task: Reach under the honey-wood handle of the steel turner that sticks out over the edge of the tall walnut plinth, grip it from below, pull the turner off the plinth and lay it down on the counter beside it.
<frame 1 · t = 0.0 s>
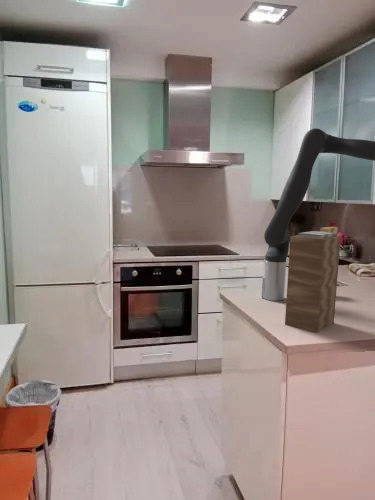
plinth: (309, 323, 145), on the countertop
turner: (323, 235, 145), point 32 cm above the countertop, touching plinth
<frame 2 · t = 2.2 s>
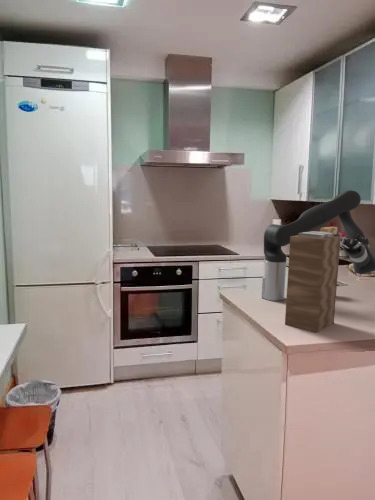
hand: (346, 234, 163), 31 cm above the countertop, tool pointing upward, fingers open, 8 cm apart
nothing on the countertop moved.
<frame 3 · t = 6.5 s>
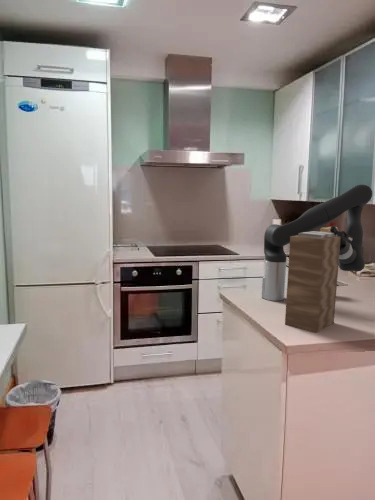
hand: (327, 227, 147), 35 cm above the countertop, tool pointing upward, fingers closed on turner, 2 cm apart
turner: (323, 235, 145), point 32 cm above the countertop, touching gripper, plinth
everything else where it was.
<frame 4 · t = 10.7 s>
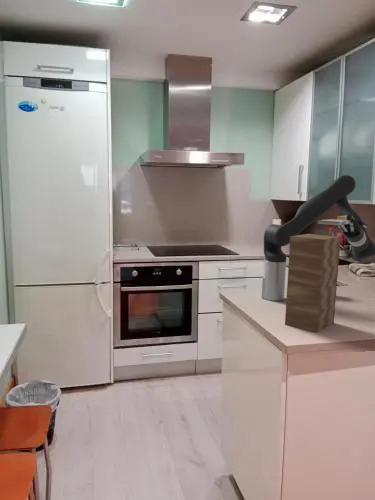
hand: (344, 215, 158), 39 cm above the countertop, tool pointing upward, fingers closed on turner, 2 cm apart
turner: (340, 223, 156), point 36 cm above the countertop, touching gripper
everything else where it was.
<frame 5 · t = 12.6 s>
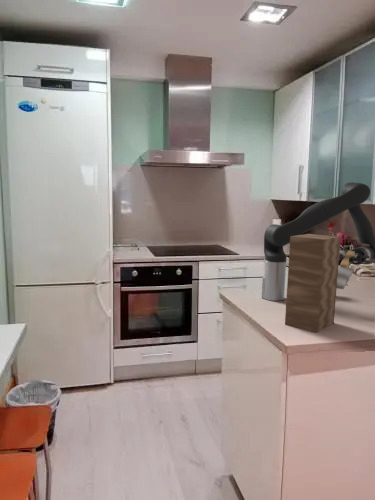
hand: (346, 259, 165), 20 cm above the countertop, tool horizontal, fingers closed on turner, 2 cm apart
turner: (343, 269, 165), point 16 cm above the countertop, tilted 30°, touching gripper
everything else where it was.
when the fingers open (10 cm above the countertop, at t = 14.9 s): turner drops 6 cm, on the countertop.
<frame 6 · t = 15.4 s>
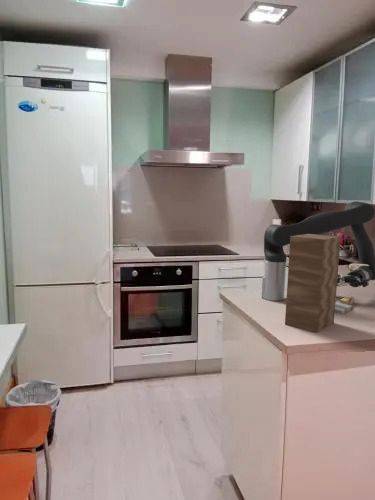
hand: (344, 283, 168), 10 cm above the countertop, tool horizontal, fingers open, 7 cm apart
turner: (342, 306, 169), on the countertop
everything else where it was.
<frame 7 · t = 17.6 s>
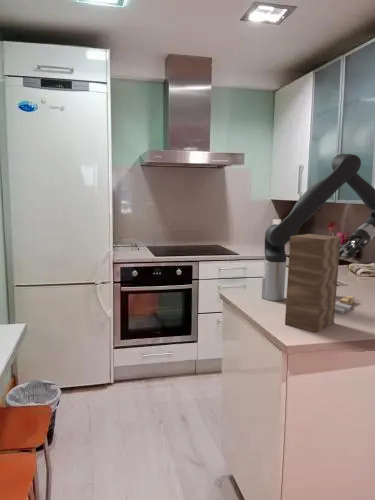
hand: (341, 256, 170), 21 cm above the countertop, tool tilted 55°, fingers open, 8 cm apart
nothing on the countertop moved.
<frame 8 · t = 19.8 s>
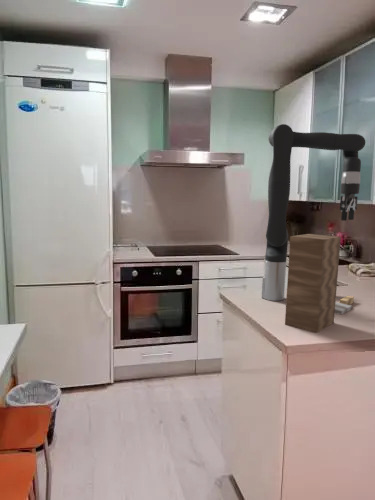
hand: (347, 220, 174), 36 cm above the countertop, tool pointing down, fingers open, 8 cm apart
nothing on the countertop moved.
at the end: turner inside the target area (2.5 cm from its centre), on the countertop; the gripper is holding nothing; turner tilted 0° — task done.
